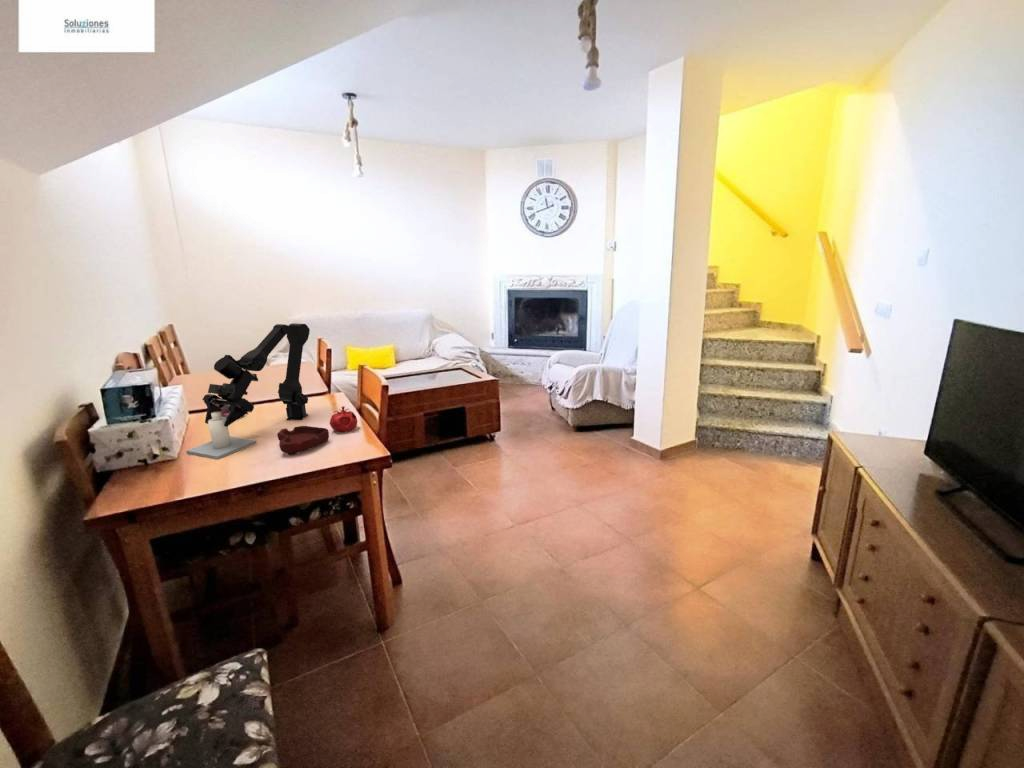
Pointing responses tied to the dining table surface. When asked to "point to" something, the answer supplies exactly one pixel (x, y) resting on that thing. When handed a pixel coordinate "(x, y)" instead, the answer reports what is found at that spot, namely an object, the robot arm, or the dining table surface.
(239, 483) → the dining table surface
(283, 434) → the ashtray
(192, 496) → the dining table surface
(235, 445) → the board
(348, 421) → the pomegranate
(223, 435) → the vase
